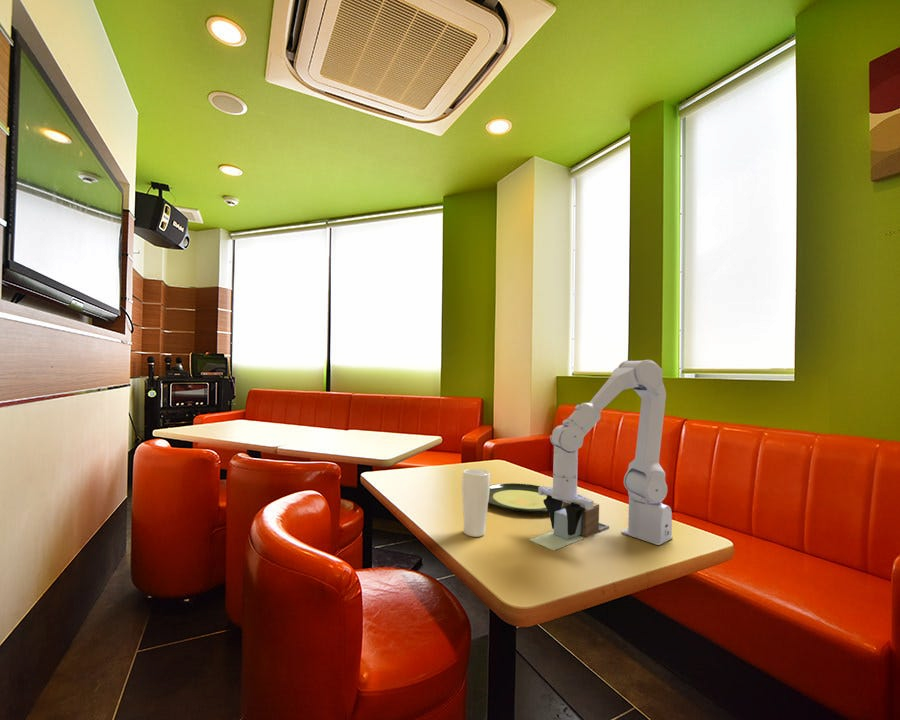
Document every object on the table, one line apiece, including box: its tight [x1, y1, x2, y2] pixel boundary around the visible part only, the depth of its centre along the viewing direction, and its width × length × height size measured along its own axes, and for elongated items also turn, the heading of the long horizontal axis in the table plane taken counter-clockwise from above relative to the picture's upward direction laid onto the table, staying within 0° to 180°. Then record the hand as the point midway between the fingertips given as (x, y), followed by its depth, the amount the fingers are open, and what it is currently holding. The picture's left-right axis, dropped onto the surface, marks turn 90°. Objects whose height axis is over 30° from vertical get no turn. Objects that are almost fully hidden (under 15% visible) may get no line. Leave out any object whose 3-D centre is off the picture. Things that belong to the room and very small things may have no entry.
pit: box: [598, 522, 610, 533], centre depth 110 cm, size 7×4×1 cm, turn 40°
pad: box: [528, 530, 585, 552], centre depth 100 cm, size 7×12×1 cm, turn 130°
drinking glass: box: [461, 468, 491, 538], centre depth 102 cm, size 7×7×15 cm
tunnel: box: [562, 502, 600, 538], centre depth 106 cm, size 7×6×7 cm
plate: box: [488, 482, 564, 514], centre depth 129 cm, size 28×28×2 cm
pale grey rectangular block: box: [553, 508, 583, 540], centre depth 105 cm, size 4×12×6 cm, turn 130°
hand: (563, 531), depth 102 cm, fingers closed on pale grey rectangular block, 4 cm apart
